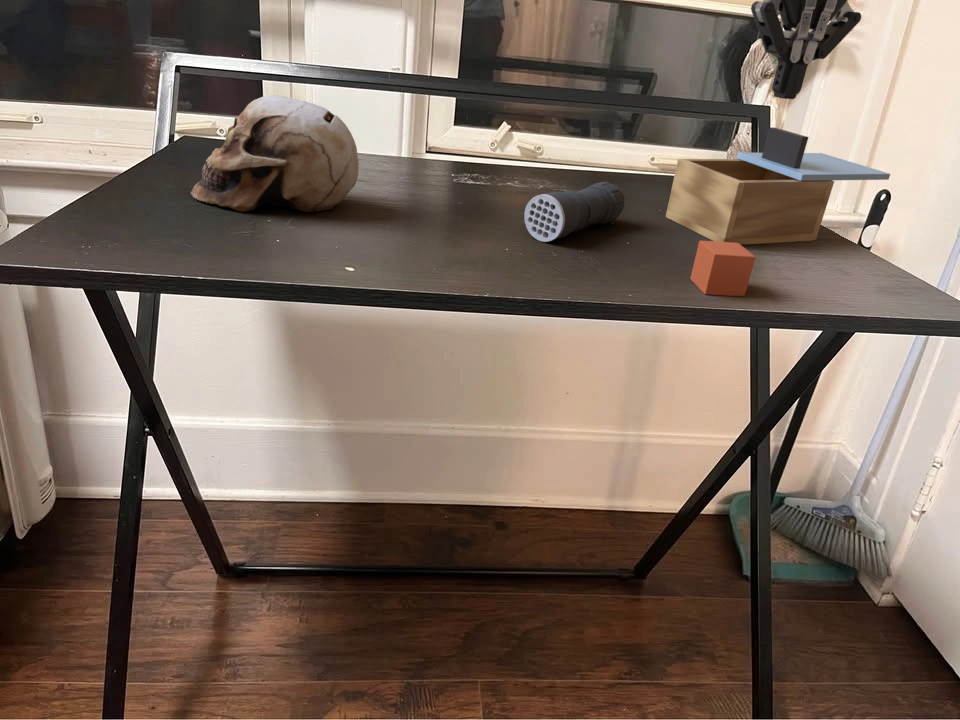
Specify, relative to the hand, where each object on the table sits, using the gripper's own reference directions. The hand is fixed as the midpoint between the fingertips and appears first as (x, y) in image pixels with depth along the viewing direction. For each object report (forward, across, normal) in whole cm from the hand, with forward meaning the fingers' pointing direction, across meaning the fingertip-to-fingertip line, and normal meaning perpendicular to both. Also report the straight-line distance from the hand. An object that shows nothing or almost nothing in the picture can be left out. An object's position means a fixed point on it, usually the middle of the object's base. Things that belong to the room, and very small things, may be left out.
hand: (784, 97), depth 84 cm
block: (+18, -11, -12) cm, 24 cm away
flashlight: (+18, -20, +7) cm, 28 cm away
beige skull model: (+18, -56, +17) cm, 61 cm away
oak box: (+18, +5, +9) cm, 21 cm away
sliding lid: (+10, +15, +10) cm, 21 cm away
